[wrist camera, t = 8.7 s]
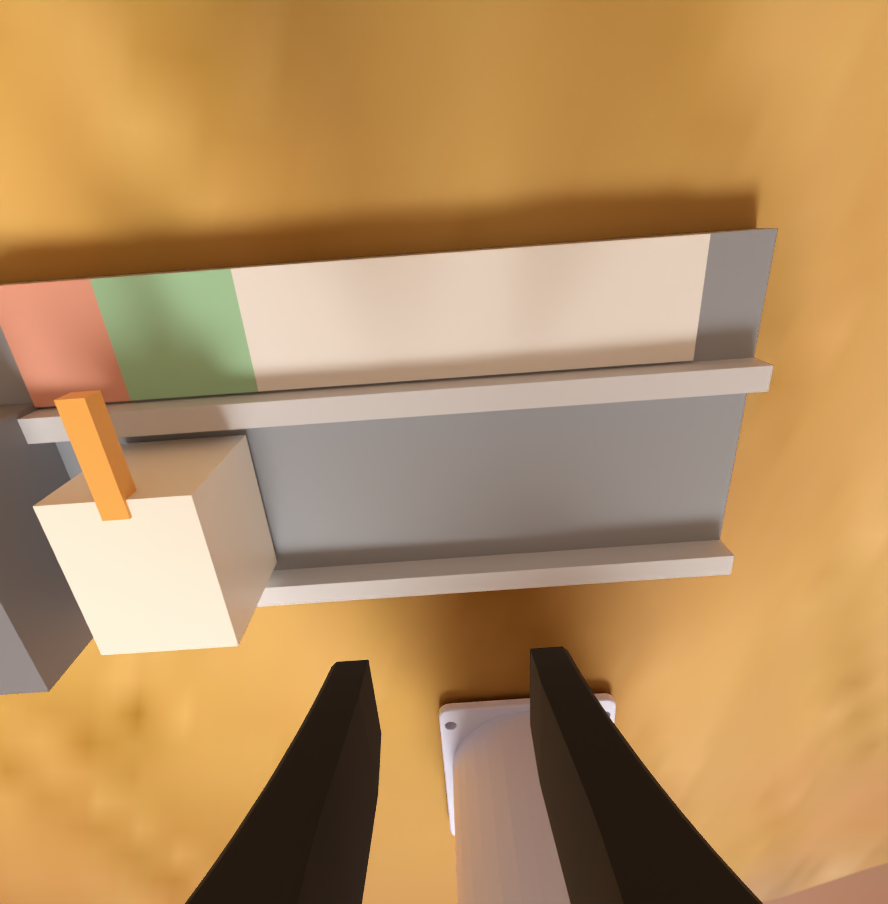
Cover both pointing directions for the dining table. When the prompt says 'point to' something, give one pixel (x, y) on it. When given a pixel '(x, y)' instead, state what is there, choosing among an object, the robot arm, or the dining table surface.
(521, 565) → the gauge board
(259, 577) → the gauge slider
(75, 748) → the dining table surface
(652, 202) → the dining table surface
